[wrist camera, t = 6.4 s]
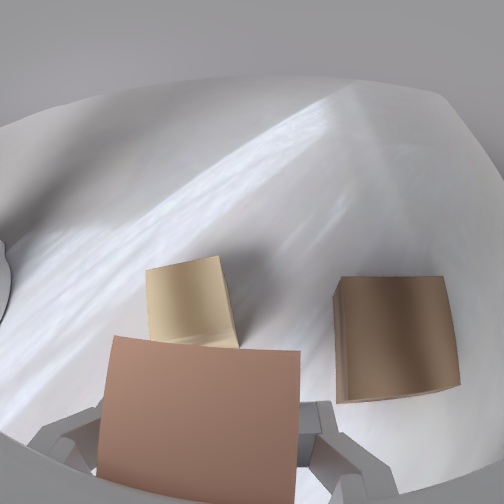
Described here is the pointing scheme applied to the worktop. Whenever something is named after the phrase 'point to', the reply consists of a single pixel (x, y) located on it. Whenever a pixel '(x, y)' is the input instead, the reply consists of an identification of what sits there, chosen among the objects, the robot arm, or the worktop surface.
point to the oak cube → (190, 304)
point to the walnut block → (393, 338)
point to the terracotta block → (201, 422)
